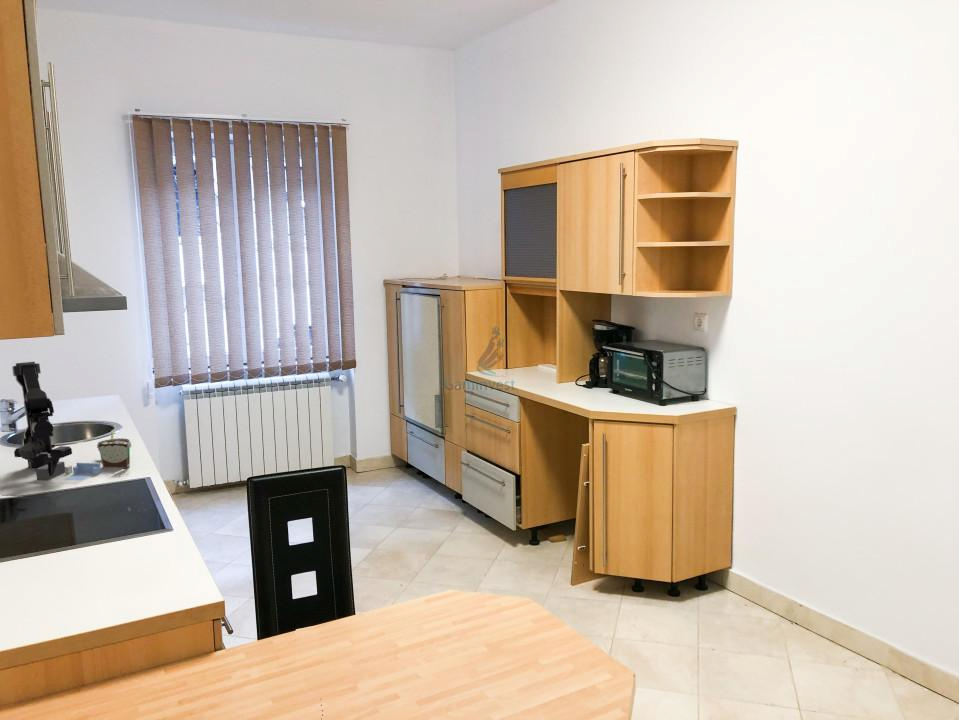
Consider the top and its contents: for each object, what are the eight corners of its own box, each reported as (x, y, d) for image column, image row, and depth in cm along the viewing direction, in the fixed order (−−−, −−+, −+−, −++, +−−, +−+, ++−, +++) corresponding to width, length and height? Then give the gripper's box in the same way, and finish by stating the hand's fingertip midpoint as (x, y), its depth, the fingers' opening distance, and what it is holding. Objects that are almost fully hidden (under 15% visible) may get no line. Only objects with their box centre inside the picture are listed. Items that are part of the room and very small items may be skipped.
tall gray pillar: (36, 480, 268) (35, 468, 267) (55, 472, 276) (54, 461, 276) (47, 480, 267) (45, 469, 266) (65, 472, 276) (64, 461, 275)
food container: (140, 464, 287) (137, 437, 285) (131, 469, 281) (128, 442, 279) (109, 464, 288) (106, 438, 286) (99, 468, 282) (96, 442, 280)
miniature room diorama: (25, 484, 266) (24, 472, 265) (52, 473, 278) (50, 461, 277) (76, 486, 262) (75, 473, 261) (101, 474, 274) (100, 463, 274)
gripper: (-2, 437, 261) (4, 481, 263) (47, 438, 257) (52, 483, 260) (24, 429, 271) (29, 472, 274) (70, 430, 268) (75, 473, 270)
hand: (45, 475), depth 269 cm, fingers closed on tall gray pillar, 4 cm apart
